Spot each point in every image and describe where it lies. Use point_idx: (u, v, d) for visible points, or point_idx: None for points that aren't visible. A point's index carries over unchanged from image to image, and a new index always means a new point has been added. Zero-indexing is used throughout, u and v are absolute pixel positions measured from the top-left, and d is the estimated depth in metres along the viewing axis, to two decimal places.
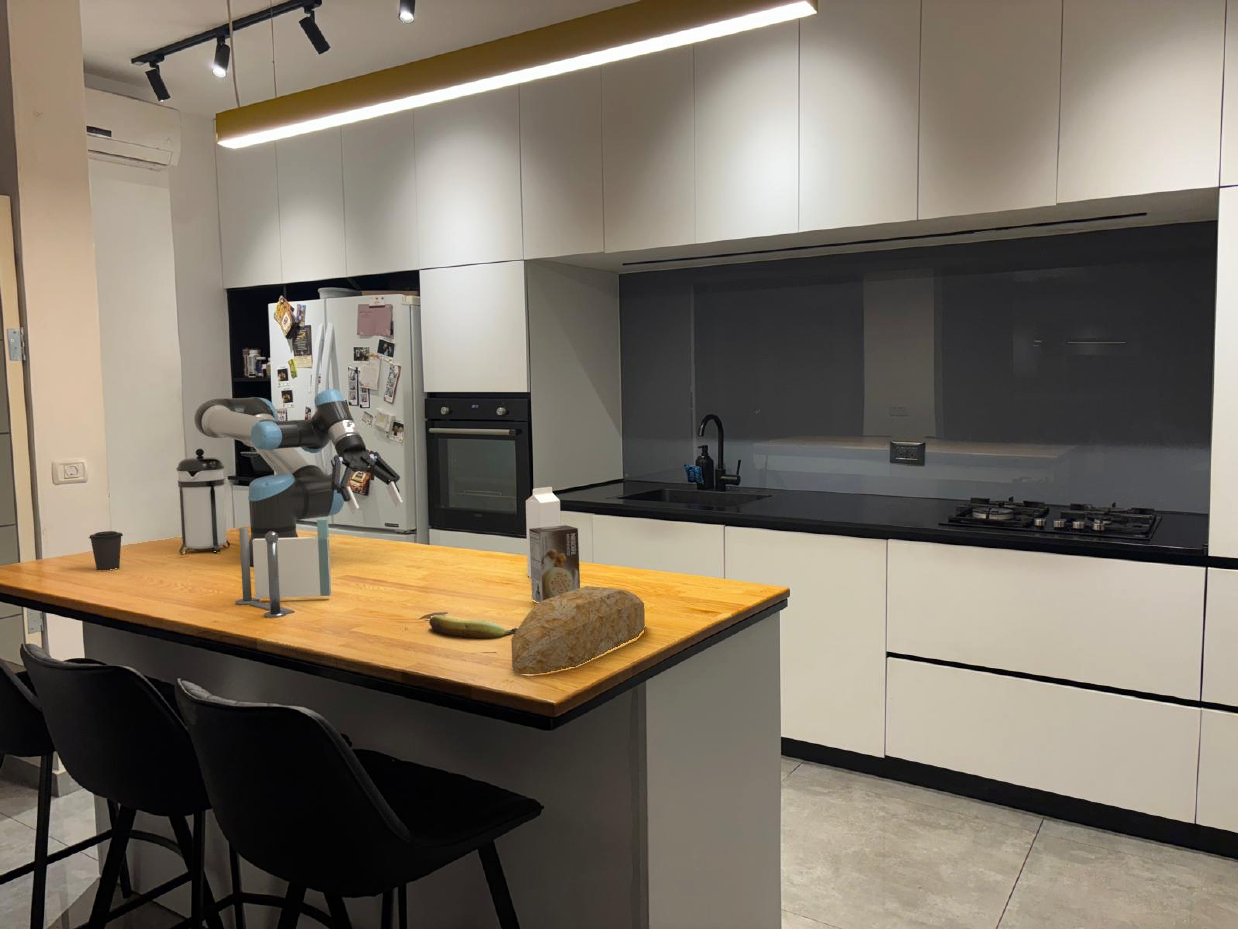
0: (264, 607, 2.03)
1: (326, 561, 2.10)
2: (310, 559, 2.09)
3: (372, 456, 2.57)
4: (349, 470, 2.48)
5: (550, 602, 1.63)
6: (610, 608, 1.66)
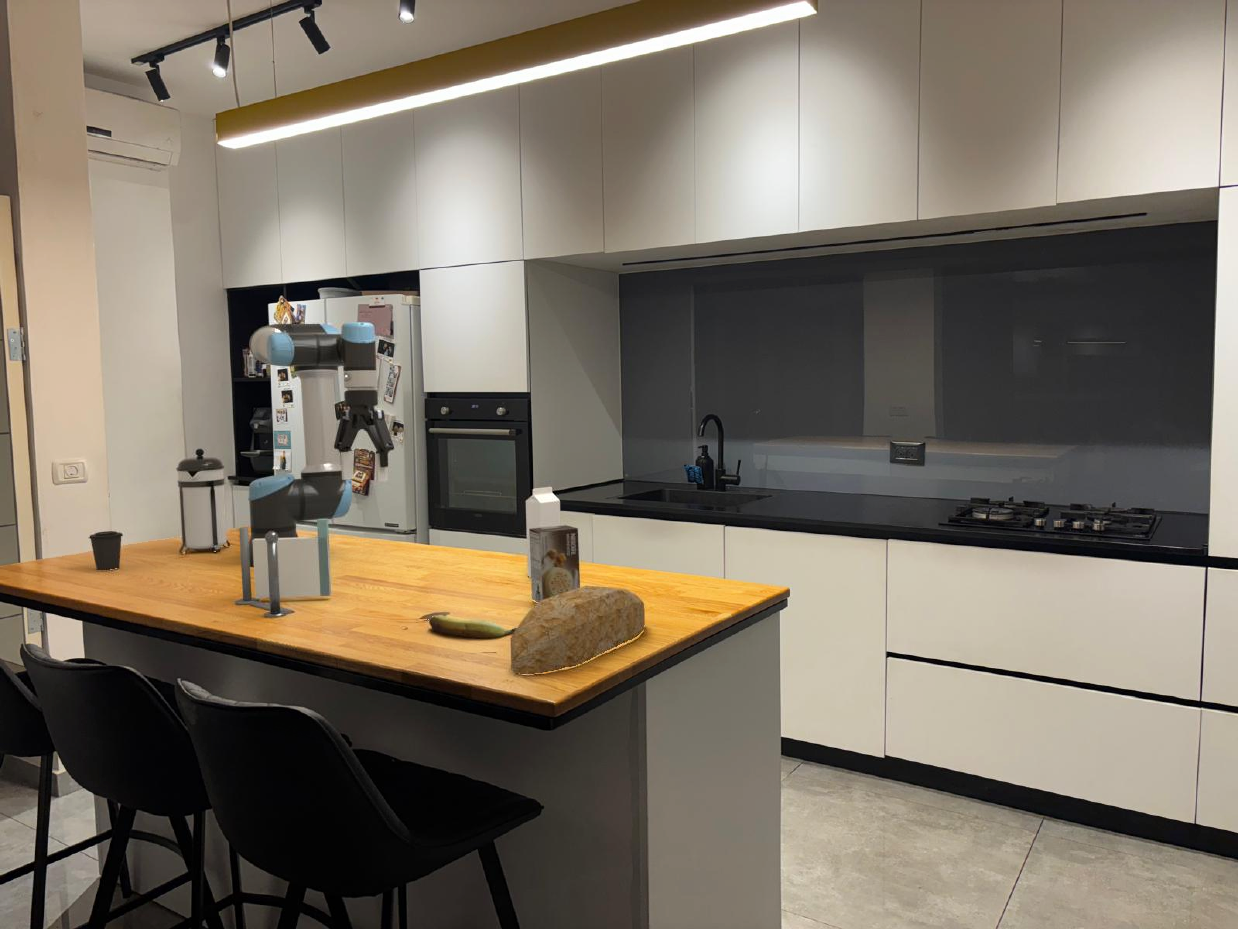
0: (264, 607, 2.03)
1: (326, 561, 2.10)
2: (310, 559, 2.09)
3: None
4: (347, 431, 2.24)
5: (549, 601, 1.63)
6: (609, 608, 1.66)
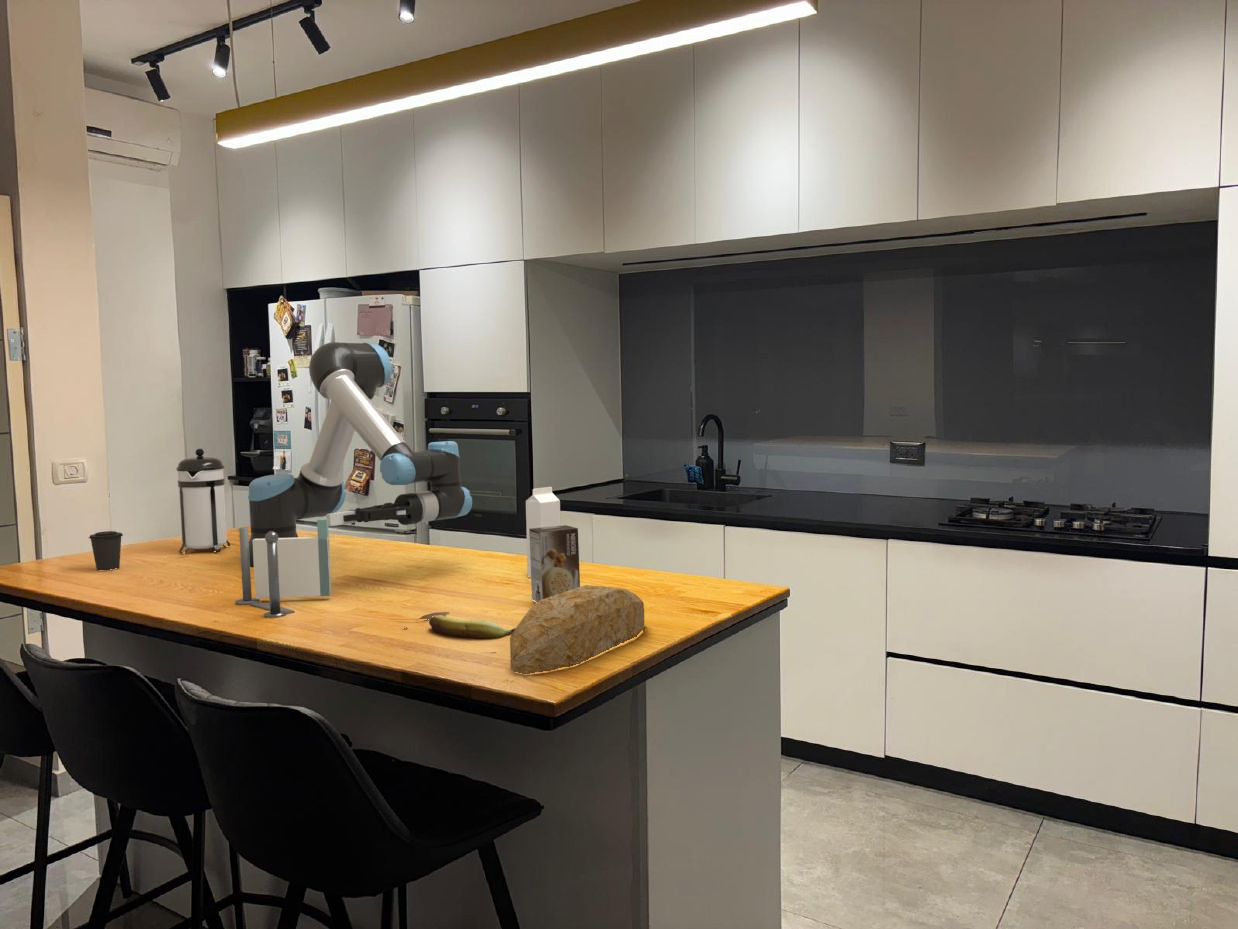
0: (264, 607, 2.03)
1: (326, 561, 2.10)
2: (310, 559, 2.09)
3: None
4: None
5: (549, 601, 1.63)
6: (608, 607, 1.67)
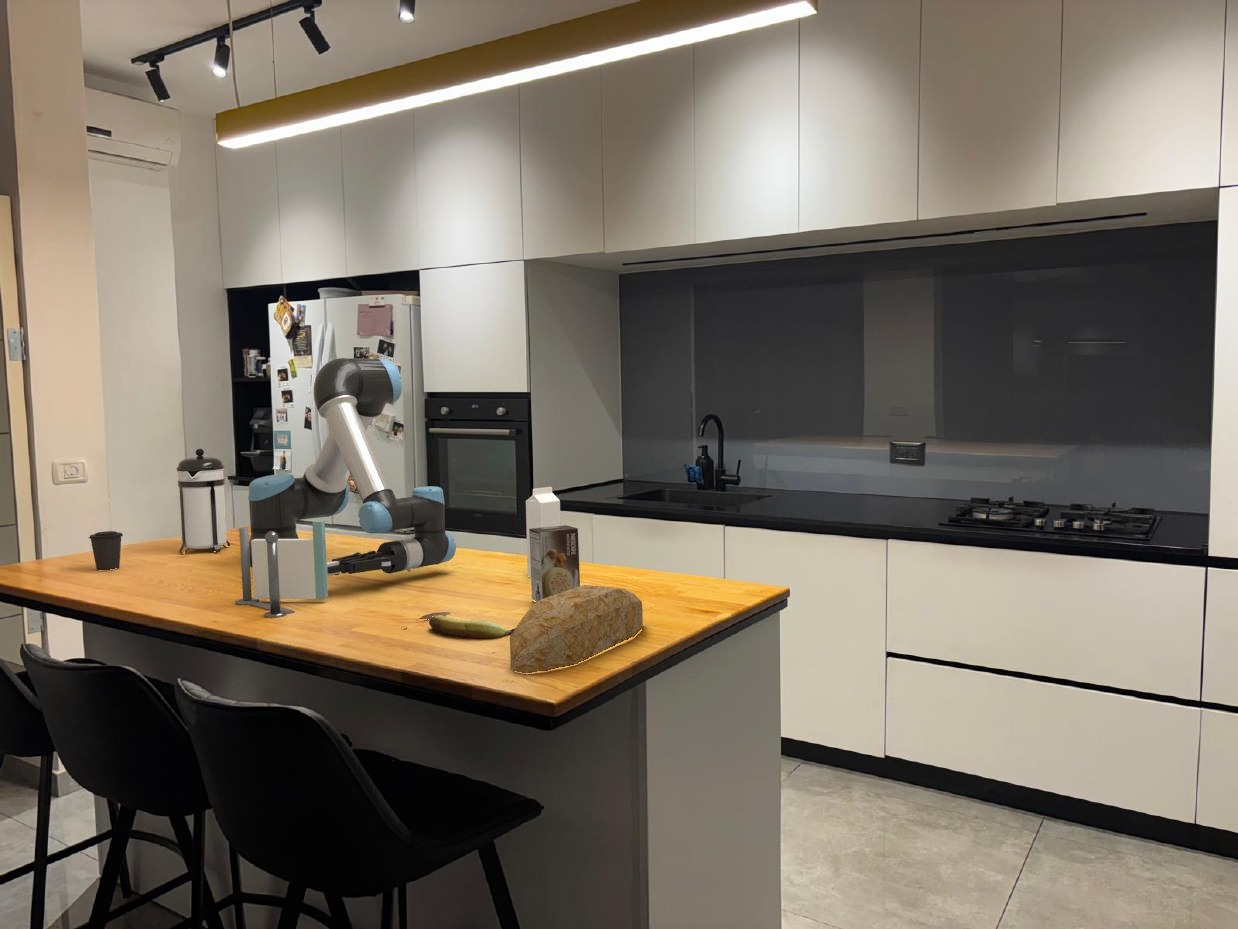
0: (264, 607, 2.03)
1: (321, 564, 2.07)
2: (305, 561, 2.07)
3: None
4: None
5: (548, 601, 1.64)
6: (608, 607, 1.67)
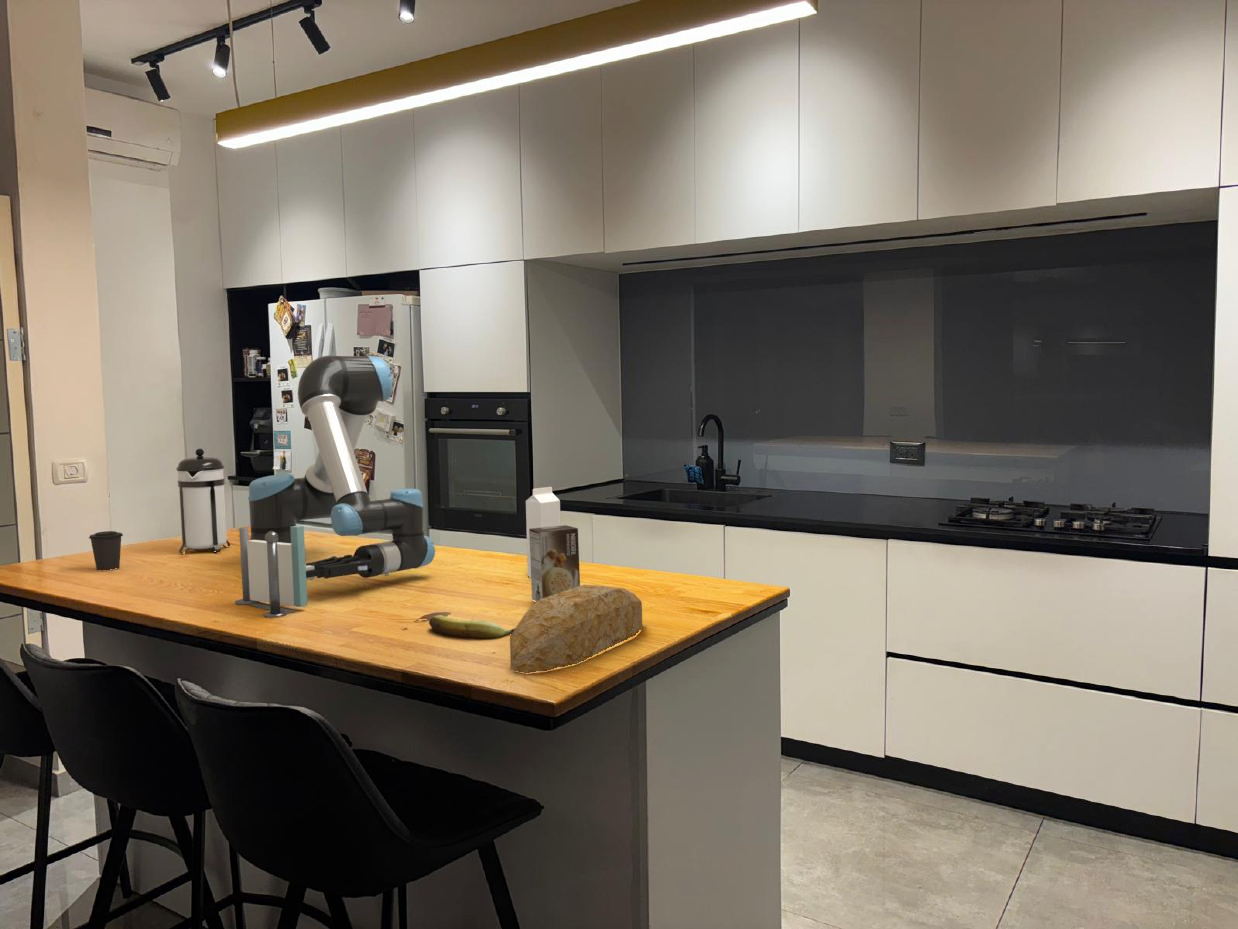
0: (264, 607, 2.03)
1: (297, 570, 1.99)
2: (286, 567, 2.01)
3: None
4: None
5: (548, 600, 1.64)
6: (607, 606, 1.67)
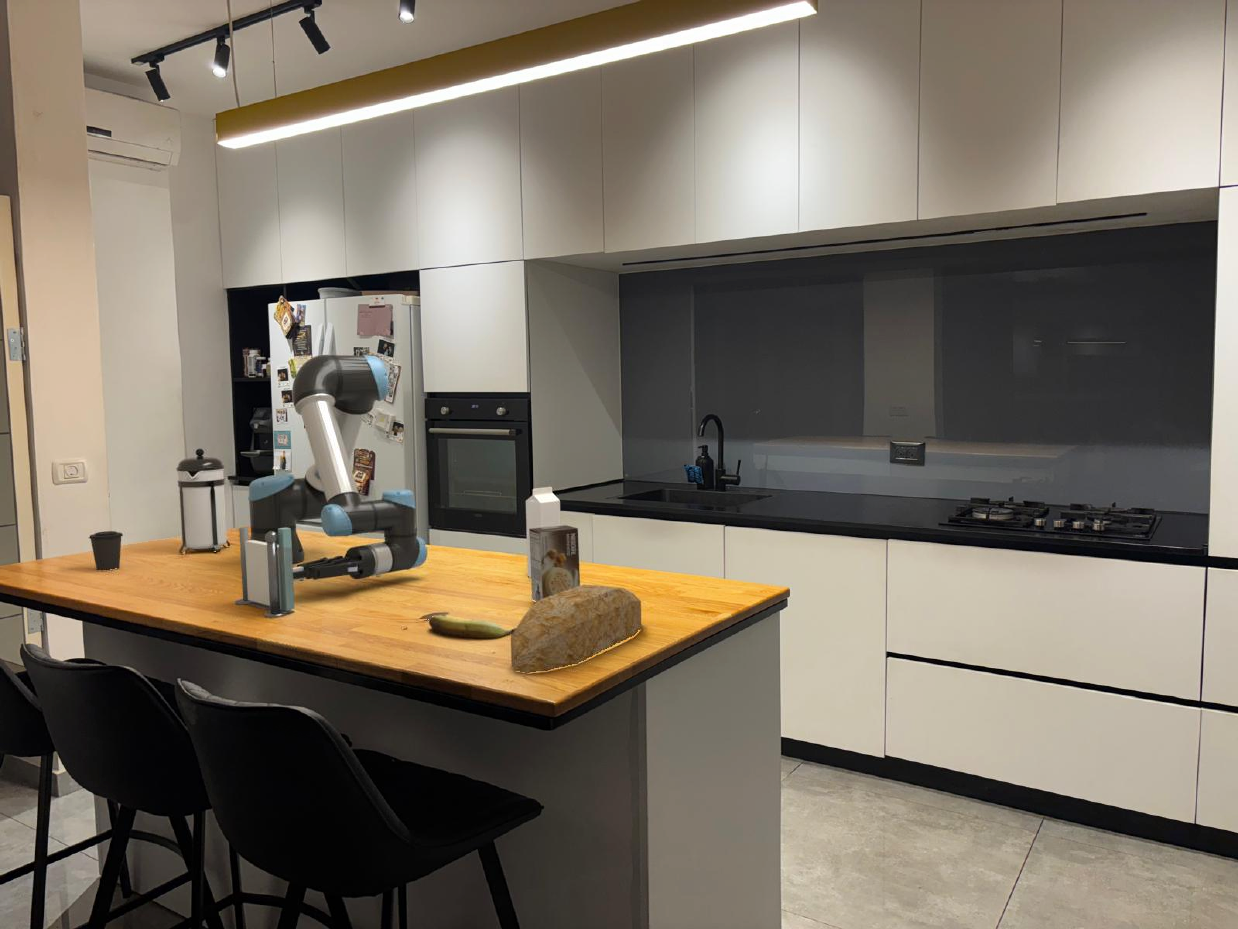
0: (264, 607, 2.03)
1: (284, 573, 1.97)
2: None
3: None
4: None
5: (549, 600, 1.64)
6: (608, 606, 1.68)
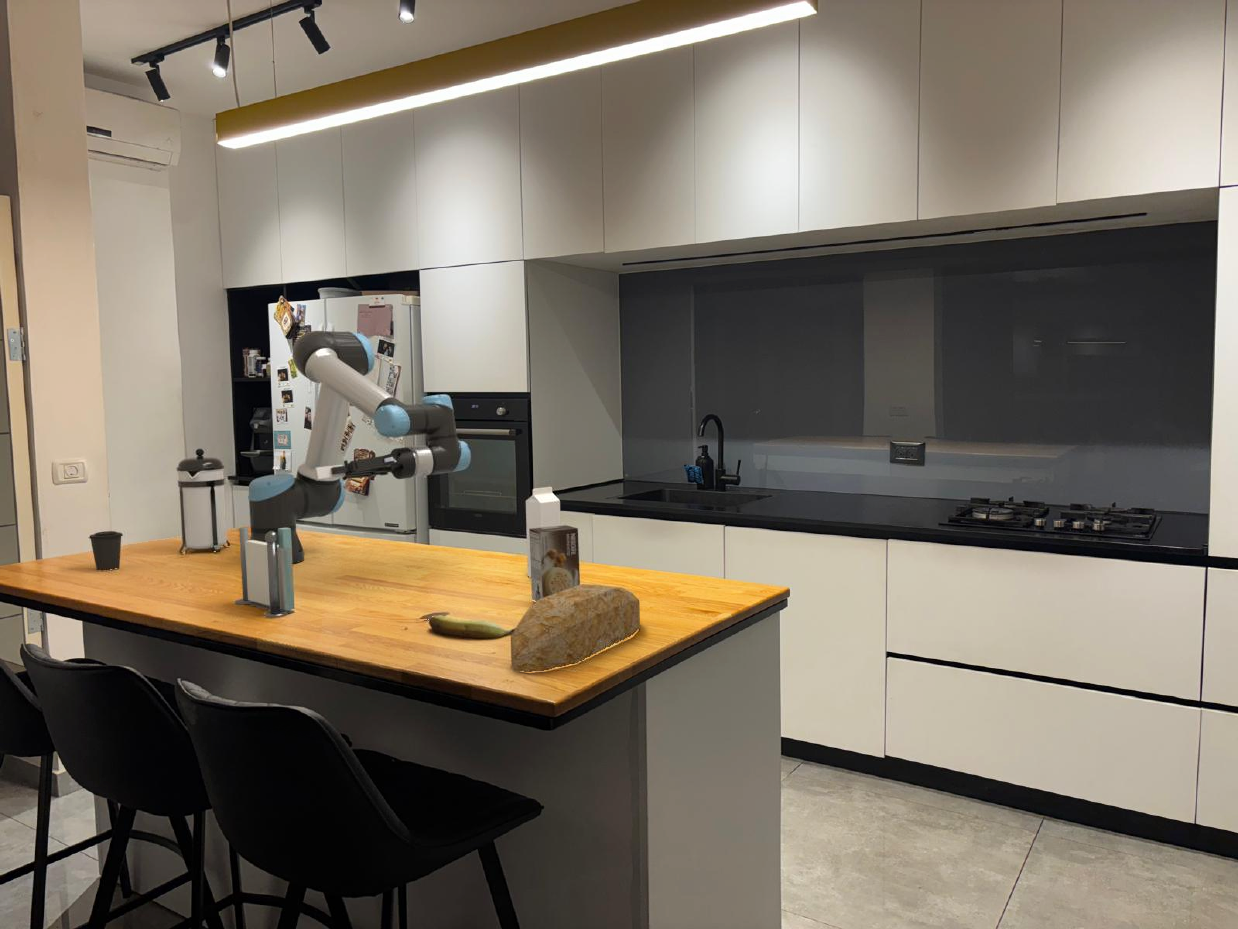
0: (264, 607, 2.03)
1: (284, 573, 1.97)
2: None
3: None
4: (371, 470, 2.23)
5: (548, 600, 1.64)
6: (607, 605, 1.68)
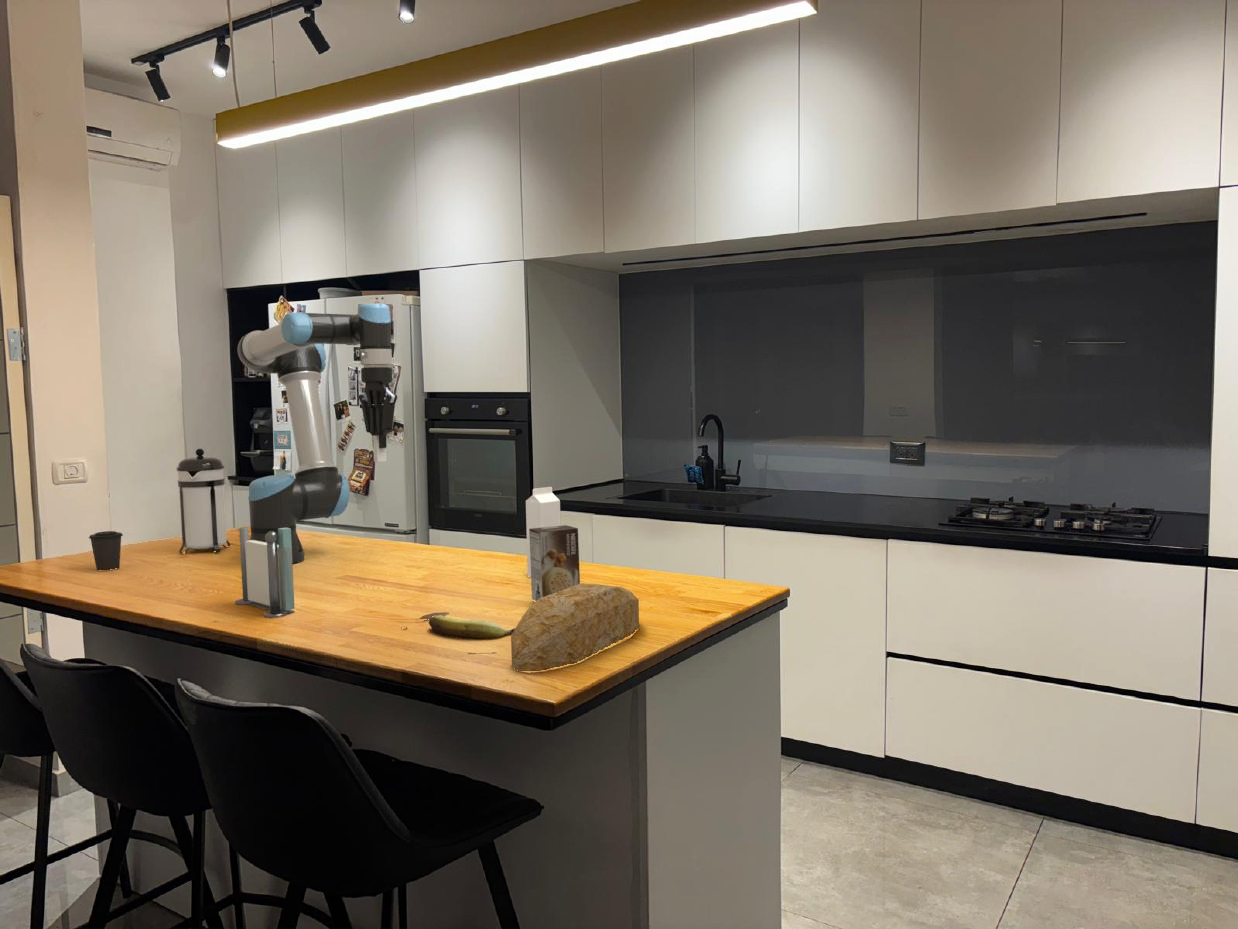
0: (264, 607, 2.03)
1: (284, 573, 1.97)
2: None
3: (387, 395, 2.33)
4: (370, 411, 2.37)
5: (548, 599, 1.64)
6: (607, 605, 1.68)
